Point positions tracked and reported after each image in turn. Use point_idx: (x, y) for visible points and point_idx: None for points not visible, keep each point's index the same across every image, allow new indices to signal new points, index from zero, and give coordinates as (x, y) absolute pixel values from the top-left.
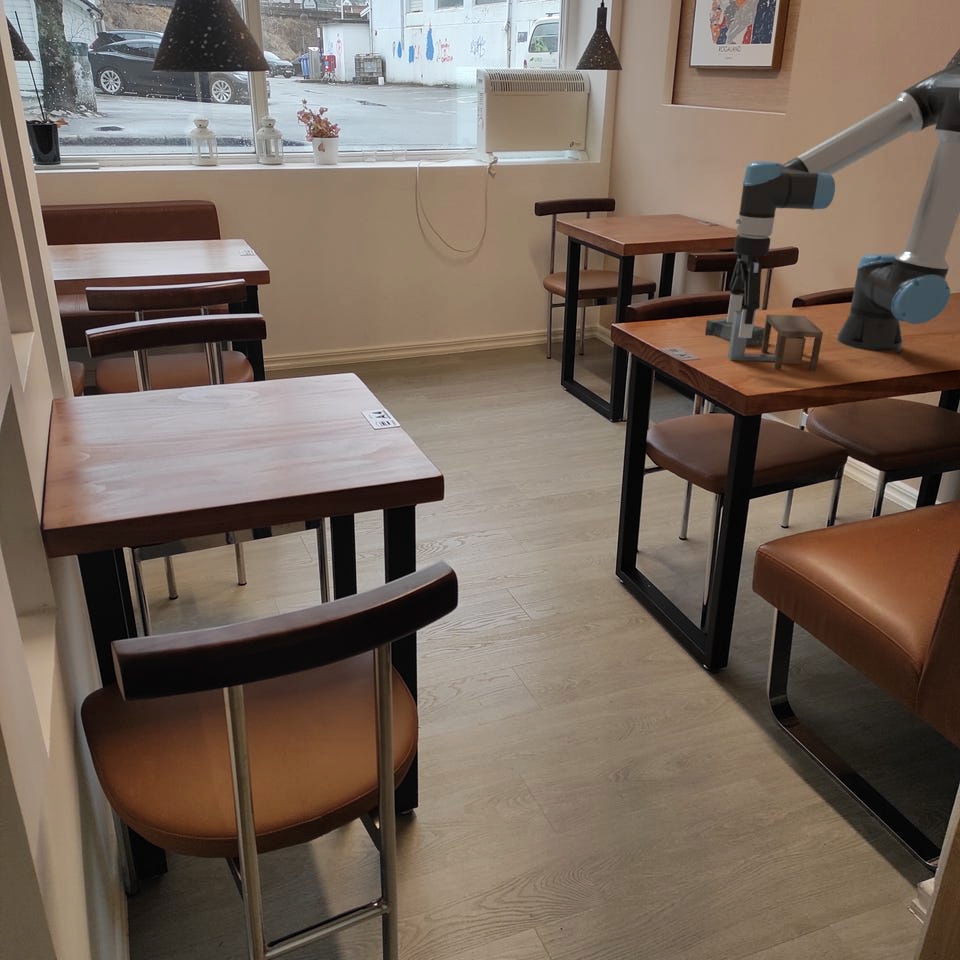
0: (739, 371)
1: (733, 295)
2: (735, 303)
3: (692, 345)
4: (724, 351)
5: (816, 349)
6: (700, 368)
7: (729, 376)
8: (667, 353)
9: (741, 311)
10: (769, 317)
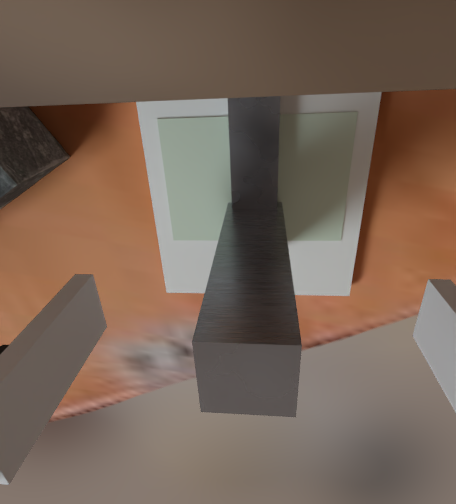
0: None
1: (5, 470)
2: (39, 394)
3: None
4: (95, 224)
5: None
6: (316, 328)
7: (409, 262)
8: (174, 379)
9: (222, 381)
10: (68, 104)
